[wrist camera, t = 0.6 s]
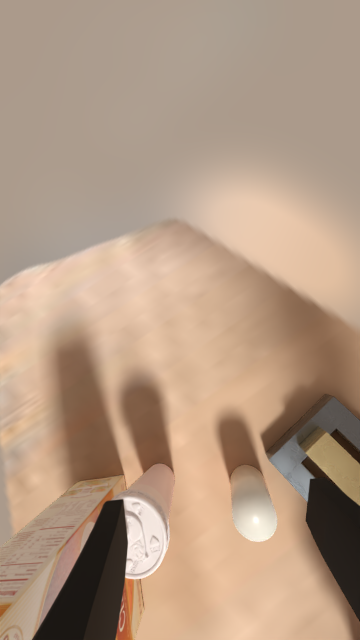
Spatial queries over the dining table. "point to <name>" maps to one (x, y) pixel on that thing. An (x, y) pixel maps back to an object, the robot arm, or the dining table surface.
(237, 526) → the white capsule cylinder
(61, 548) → the coffeecake box
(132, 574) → the smoothie
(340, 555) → the robot arm
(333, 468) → the shunt bar
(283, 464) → the jig
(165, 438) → the dining table surface
